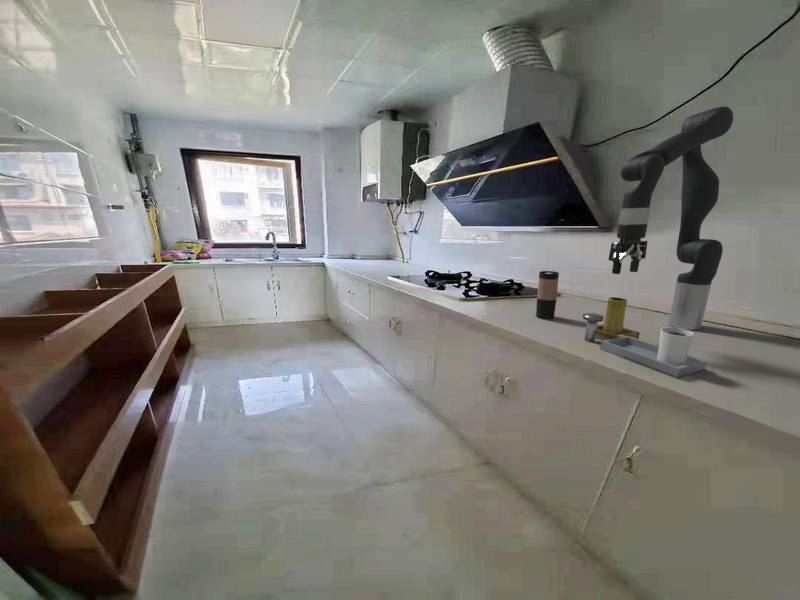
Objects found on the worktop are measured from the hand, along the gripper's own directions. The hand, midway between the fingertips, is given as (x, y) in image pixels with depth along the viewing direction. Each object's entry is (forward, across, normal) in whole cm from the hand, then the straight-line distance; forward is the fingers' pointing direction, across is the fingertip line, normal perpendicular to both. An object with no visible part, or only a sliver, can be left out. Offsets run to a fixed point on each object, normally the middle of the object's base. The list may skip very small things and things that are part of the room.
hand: (624, 272), depth 100 cm
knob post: (+24, +9, -2) cm, 25 cm away
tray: (+24, +7, +15) cm, 29 cm away
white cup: (+23, +7, +21) cm, 32 cm away
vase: (+24, 0, -1) cm, 24 cm away
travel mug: (+24, +2, -29) cm, 38 cm away
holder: (+24, 0, -1) cm, 24 cm away
